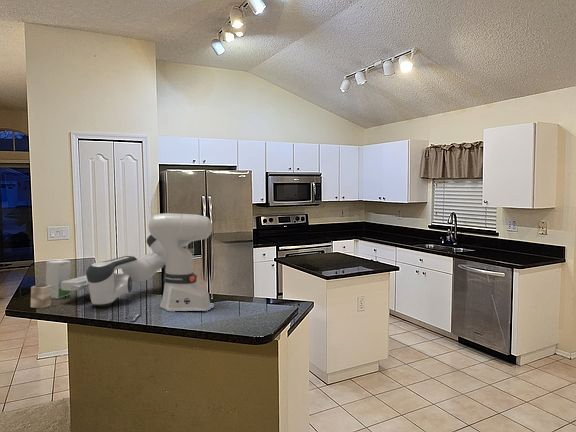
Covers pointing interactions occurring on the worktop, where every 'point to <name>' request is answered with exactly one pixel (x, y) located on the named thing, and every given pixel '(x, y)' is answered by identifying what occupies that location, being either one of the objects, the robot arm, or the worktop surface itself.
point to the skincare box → (58, 277)
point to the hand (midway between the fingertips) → (64, 281)
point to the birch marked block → (41, 296)
